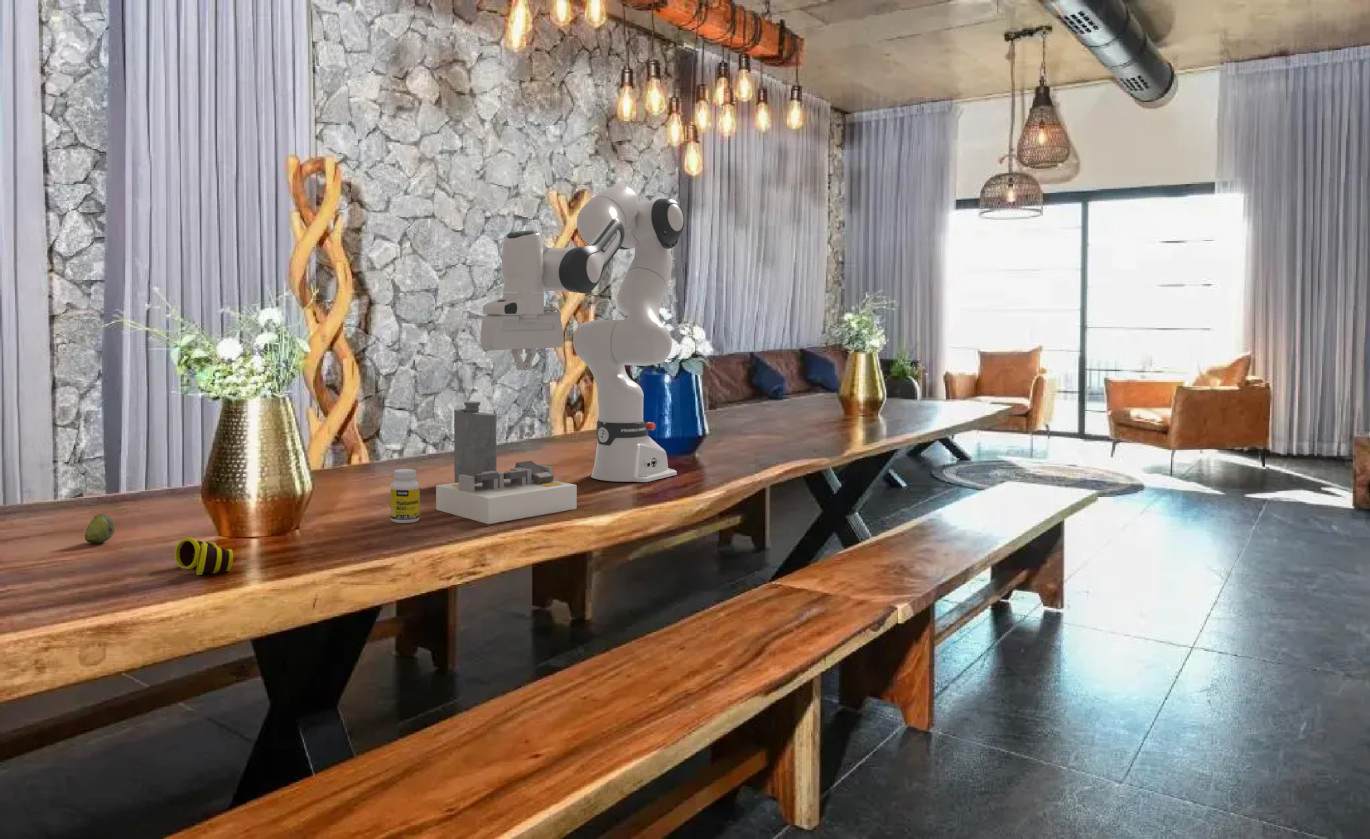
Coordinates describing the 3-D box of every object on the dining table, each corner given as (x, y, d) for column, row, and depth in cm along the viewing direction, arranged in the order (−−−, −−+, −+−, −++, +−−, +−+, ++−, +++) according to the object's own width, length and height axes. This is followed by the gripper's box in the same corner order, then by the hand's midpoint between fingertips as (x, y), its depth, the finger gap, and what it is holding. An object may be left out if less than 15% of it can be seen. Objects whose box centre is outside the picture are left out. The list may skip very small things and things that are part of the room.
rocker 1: (476, 484, 194) (475, 477, 194) (498, 478, 189) (497, 471, 189) (459, 486, 191) (458, 479, 191) (481, 480, 186) (480, 473, 186)
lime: (86, 547, 158) (84, 518, 157) (83, 541, 162) (82, 512, 161) (117, 544, 161) (115, 515, 160) (114, 538, 164) (112, 510, 164)
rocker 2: (503, 478, 199) (503, 471, 199) (527, 476, 194) (526, 469, 194) (487, 480, 196) (487, 473, 196) (511, 478, 191) (510, 471, 191)
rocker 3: (530, 465, 204) (531, 459, 204) (552, 481, 199) (554, 475, 199) (514, 467, 201) (516, 461, 201) (537, 483, 196) (538, 477, 196)
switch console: (523, 496, 210) (523, 460, 209) (576, 508, 198) (576, 470, 197) (436, 509, 194) (435, 470, 193) (488, 524, 182) (488, 482, 181)
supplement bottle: (393, 524, 180) (392, 473, 179) (388, 518, 184) (387, 469, 183) (422, 522, 182) (422, 471, 181) (416, 516, 187) (416, 467, 186)
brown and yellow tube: (233, 579, 145) (239, 546, 145) (198, 579, 141) (203, 545, 141) (206, 567, 151) (211, 536, 151) (171, 566, 147) (177, 534, 147)
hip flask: (499, 491, 215) (499, 403, 213) (483, 493, 212) (483, 404, 210) (464, 481, 227) (463, 398, 224) (448, 483, 224) (448, 398, 222)
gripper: (551, 306, 216) (551, 366, 218) (476, 306, 201) (477, 371, 203) (569, 306, 212) (569, 368, 214) (494, 306, 197) (495, 373, 199)
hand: (524, 369), depth 208 cm, fingers closed
